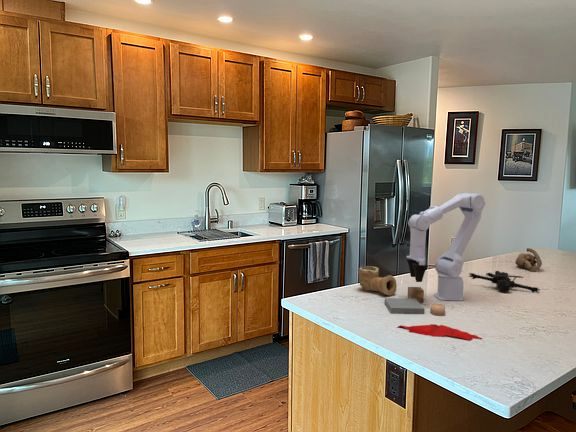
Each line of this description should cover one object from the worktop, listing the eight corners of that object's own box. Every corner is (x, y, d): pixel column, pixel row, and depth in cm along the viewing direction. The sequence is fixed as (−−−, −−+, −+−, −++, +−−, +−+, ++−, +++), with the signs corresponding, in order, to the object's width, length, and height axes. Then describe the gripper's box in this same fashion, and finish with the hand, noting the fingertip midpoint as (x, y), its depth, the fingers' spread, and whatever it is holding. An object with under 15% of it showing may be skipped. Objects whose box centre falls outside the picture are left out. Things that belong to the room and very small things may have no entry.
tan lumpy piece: (518, 273, 235) (538, 274, 220) (506, 263, 235) (525, 263, 220) (530, 255, 237) (550, 255, 222) (518, 245, 237) (538, 244, 222)
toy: (468, 273, 215) (466, 285, 188) (471, 260, 214) (469, 269, 187) (532, 288, 203) (540, 303, 176) (536, 274, 202) (544, 286, 175)
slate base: (415, 303, 166) (415, 298, 166) (424, 313, 154) (424, 308, 154) (384, 303, 166) (384, 298, 166) (390, 313, 155) (391, 307, 154)
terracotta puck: (442, 311, 158) (442, 303, 157) (446, 316, 153) (447, 308, 152) (428, 311, 158) (428, 303, 157) (432, 315, 153) (433, 307, 152)
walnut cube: (419, 299, 173) (420, 287, 172) (423, 303, 168) (423, 290, 167) (407, 298, 173) (407, 286, 172) (410, 302, 168) (411, 290, 167)
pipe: (385, 298, 172) (386, 274, 171) (353, 290, 184) (354, 267, 183) (397, 294, 179) (398, 270, 178) (365, 286, 190) (366, 264, 189)
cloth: (486, 335, 136) (487, 329, 136) (480, 351, 125) (480, 343, 124) (405, 319, 150) (405, 313, 150) (393, 332, 138) (393, 325, 138)
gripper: (403, 242, 175) (401, 274, 176) (412, 248, 161) (410, 283, 162) (420, 242, 175) (418, 274, 176) (431, 248, 160) (429, 284, 162)
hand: (416, 279), depth 169 cm, fingers open, 7 cm apart
